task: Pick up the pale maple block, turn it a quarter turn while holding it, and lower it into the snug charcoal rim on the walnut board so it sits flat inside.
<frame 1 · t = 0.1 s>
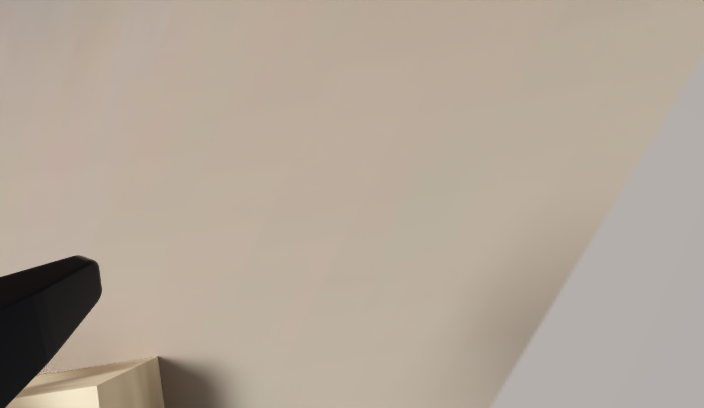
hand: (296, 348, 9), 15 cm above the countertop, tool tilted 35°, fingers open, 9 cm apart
maple block: (102, 406, 25), on the countertop
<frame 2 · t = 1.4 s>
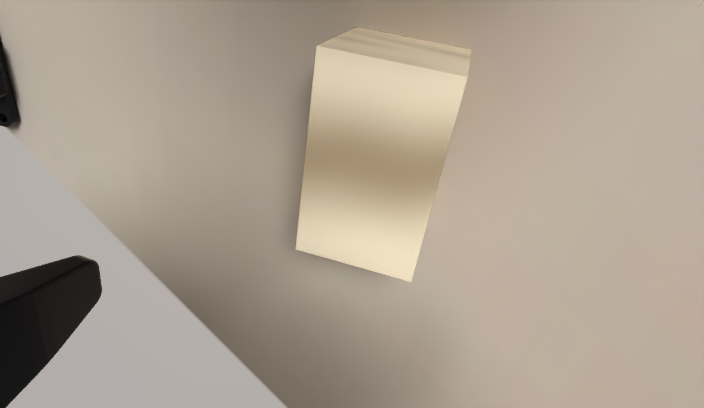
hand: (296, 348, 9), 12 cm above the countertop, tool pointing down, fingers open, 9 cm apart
maple block: (394, 129, 19), on the countertop
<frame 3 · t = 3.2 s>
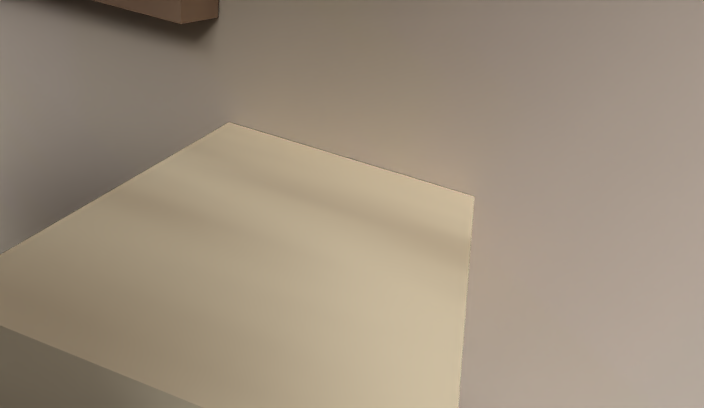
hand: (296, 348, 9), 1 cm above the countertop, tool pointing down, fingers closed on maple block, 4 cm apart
maple block: (314, 313, 10), on the countertop, touching gripper
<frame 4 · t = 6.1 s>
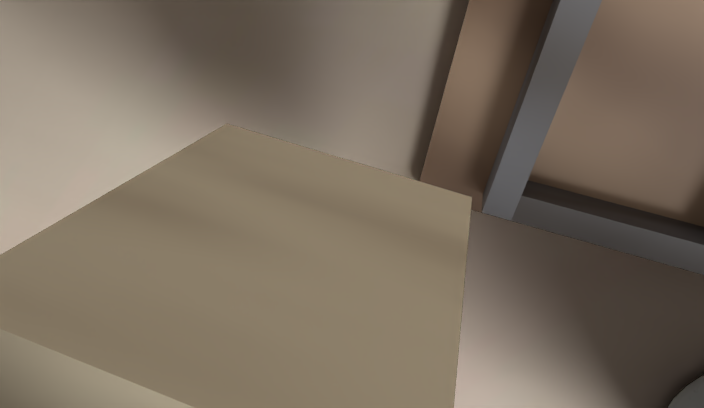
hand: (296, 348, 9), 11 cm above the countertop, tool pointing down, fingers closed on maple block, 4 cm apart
nest board: (669, 58, 14), on the countertop
maple block: (313, 314, 10), point 10 cm above the countertop, touching gripper
when the fingers open (3 cm above the countertop, at t = 9.1 s): maple block stays where it is, resting on nest board.
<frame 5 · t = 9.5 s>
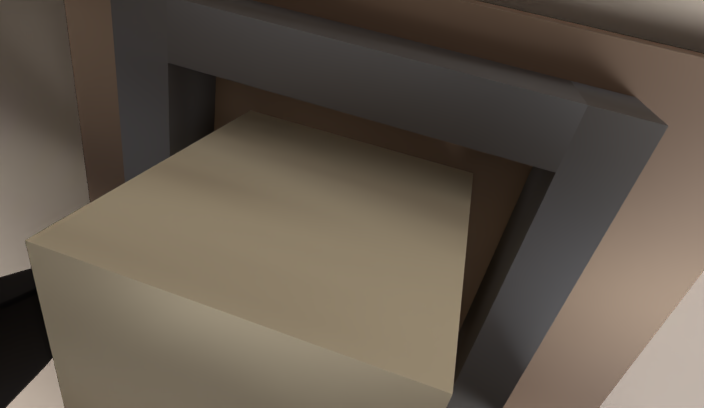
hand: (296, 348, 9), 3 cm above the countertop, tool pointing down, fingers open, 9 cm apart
nest board: (341, 264, 11), on the countertop
maple block: (327, 287, 10), point 1 cm above the countertop, touching nest board
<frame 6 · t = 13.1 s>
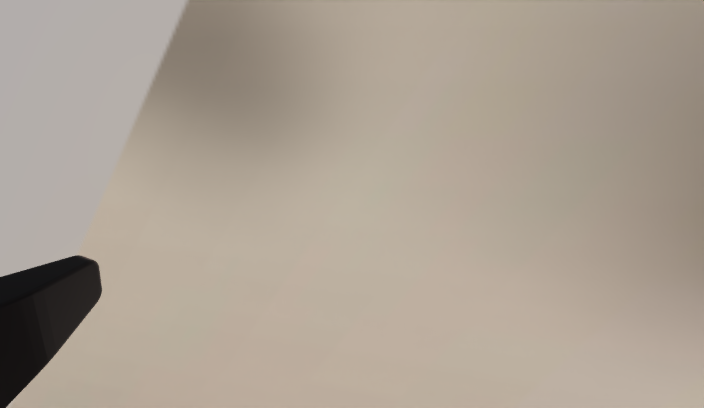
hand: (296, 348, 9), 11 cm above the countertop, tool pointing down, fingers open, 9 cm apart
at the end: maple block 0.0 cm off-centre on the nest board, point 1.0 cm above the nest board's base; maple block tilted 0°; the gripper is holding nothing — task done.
